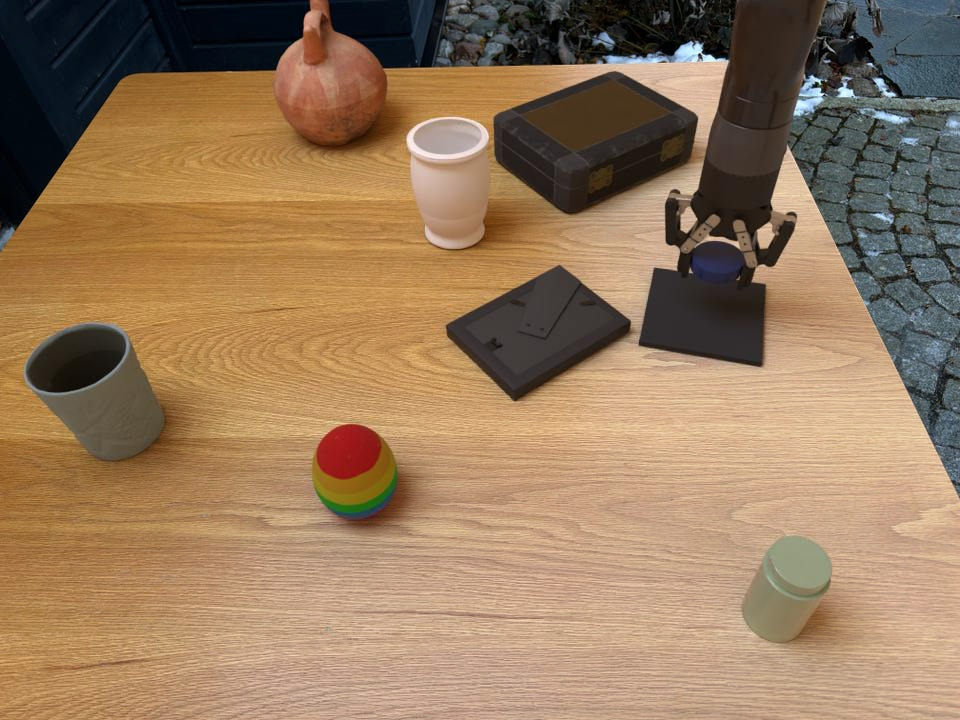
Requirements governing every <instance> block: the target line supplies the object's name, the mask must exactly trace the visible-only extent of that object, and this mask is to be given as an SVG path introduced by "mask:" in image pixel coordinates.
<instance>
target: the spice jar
mask: <svg viewBox="0 0 960 720" xmlns="http://www.w3.org/2000/svg"><path fill="white" fill-rule="evenodd" d="M832 576H833V564H832V561H831V558H830V556H829V554H828V553H827V552H826V550H825V549H824V548H823V547H822V546H821V545H820V544H819V543H817V542H815V541H814V540H812V539H810V538H807V537H805V536H804V537H803V536H800V535H787V536H783V537H780V538H778V539H777V540H775V541H774V542H773V543H772V545H770V547H769V548H768V549H767V550H766V552H765V553H764V555H763V557H762V560H761V561H760V563H759V565H758V567H757V570H756V571H755V574H754V576H753V578H752V580H751V582H750V584H749V586H748V588H747V591H746V592H745V594H744V597H743V598H742V601H741V612H742V616H743V619H744V621H745V622H746V624H747V625H748V627H749V628H750V629H751V630H752V632H754V633H755V634H756V635H758V637H760V638H762V639H764V640H766V641H770V642H774V643H786V642H790V641H792V640H794V639H796V638H797V637H798V636H799V635H800V634H801V632H803V631H802V630H803V629H804V628H805V626H806V625H807V623H808V621H809V620H810V618H811V617H812V616H813V614H814V612H815V611H816V610H817V607H818V606H819V605H820V603H821V601H822V600H823V598H825V596H826V594H827V593H828V591H829V589H830V587H831V584H832V583H831V582H832Z"/></svg>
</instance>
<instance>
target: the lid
mask: <svg viewBox="0 0 960 720" xmlns="http://www.w3.org/2000/svg"><path fill="white" fill-rule="evenodd" d="M744 260H745V258H744V255H743V253H742V252H741V249H740V247H739V248H738V246H736V245H734V244H732V243H729V242H726V241H721V240H707V241H702V242H700V243H698V244H697V245H696V246H695V248H694V251H693V253H692V257H691V262H690V271H691V273H694V275H695V276H697V277H698V278H699V279H701V280H703V281H706V282H709V283H714V284H726V283H730V282H733V281H735V280H739V278H740V275H741V271H742V268H743V264H744Z"/></svg>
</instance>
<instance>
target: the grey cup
mask: <svg viewBox="0 0 960 720" xmlns="http://www.w3.org/2000/svg"><path fill="white" fill-rule="evenodd" d="M23 378H24V382H25V383H26V385H27V387H28V388H29V389H30V391H32V392H33V393H34V394H35V395H36V396H37V398H38V399H40V400H41V401H42V403H44V404H45V406H46V407H47V408H48V409H49V411H51V412H52V413H53V415H55V416H56V417H57V418H59V421H61V422H62V423H63V425H65V427H66V428H67V429H68V430H69V431H70V432H72V433H73V434H74V437H75V439H76V440H77V441H78V442H79V444H81V446H83V448H84V449H85V450H86V451H87V452H88V453H89V454H90V455H92V456H93V457H94V458H97V459H100V460H102V461H107V462H114V461H115V462H116V461H121V460H127V459H129V458H131V457H134V456H136V455H139V454H140V453H142V452H143V451H145V450H146V449H148V448H149V447H150V446H151V445H153V444H154V442H156V441H157V439H158V438H159V437H160V435H161V434H162V431H163V429H164V426H165V415H164V411H163V409H162V406H161V404H160V402H159V400H158V398H157V396H156V393H155V392H154V390H153V386H152V384H151V382H150V381H149V378H148V375H147V373H146V372H145V371H144V369H143V368H142V367H141V362H140V360H139V359H138V355H137V353H136V350H135V348H134V346H133V343H132V341H131V339H130V337H129V335H128V334H127V332H126V331H125V330H124V329H123V328H122V327H120V326H118V325H116V324H113V323H109V322H102V321H87V322H82V323H78V324H74V325H71V326H68V327H66V328H63V329H61V330H59V331H57V332H55V333H53V334H51V335H50V336H48V337H47V338H46V339H45V340H43V341H41V342H40V343H39V344H38V345H37V346H36V347H35V348H34V350H33V351H31V353H30V354H29V356H28V358H27V359H26V362H25V364H24V367H23Z"/></svg>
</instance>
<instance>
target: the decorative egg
mask: <svg viewBox="0 0 960 720" xmlns="http://www.w3.org/2000/svg"><path fill="white" fill-rule="evenodd" d="M398 472H399V471H398V465H397V462H396V458H395V455H394V452H393V451H392V449H391V447H390V445H389V444H388V442H387V441H386V439H384V438H383V436H381V435H380V434H379V433H378V432H376V431H375V430H373V429H372V428H370V427H367V426H366V425H363V424H357V423H345V424H341V425H339V426H336V427H333V428H332V429H330V430H329V431H328V432H327V433H326V434H325V435H324V437H322V438H321V440H320V442H319V443H318V444H317V447H316V448H315V450H314V454H313V457H312V463H311V477H312V478H311V480H312V484H313V488H314V490H315V492H316V493H315V494H316V495H317V497H318V499H319V500H320V501H321V503H322V504H323V505H324V507H326V508H327V510H329V511H330V512H332V513H333V514H335V515H337V516H338V517H341V518H344V519H349V520H364V519H368V518H370V517H372V516H375V515H376V514H378V513H380V512H381V511H382V510H383V509H384V508H385V507H386V506H387V505H388V504H389V503H390V501H391V499H392V498H393V497H394V494H395V492H396V489H397V484H398V474H399V473H398Z"/></svg>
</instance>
